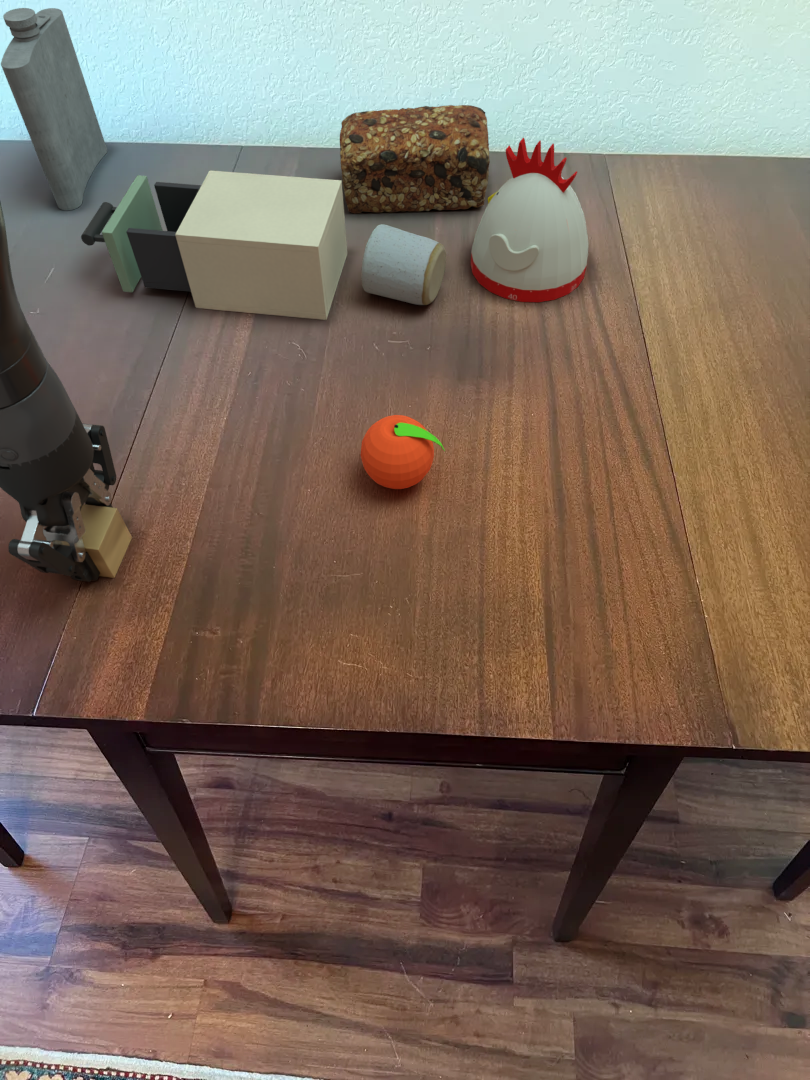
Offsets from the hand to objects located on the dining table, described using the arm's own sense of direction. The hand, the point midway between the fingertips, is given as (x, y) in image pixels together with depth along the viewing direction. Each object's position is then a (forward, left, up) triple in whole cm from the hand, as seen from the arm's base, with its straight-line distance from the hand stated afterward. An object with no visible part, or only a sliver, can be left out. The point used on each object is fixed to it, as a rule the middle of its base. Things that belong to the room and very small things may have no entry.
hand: (98, 552), depth 71 cm
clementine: (+26, +13, -1) cm, 29 cm away
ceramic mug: (+22, +42, -1) cm, 47 cm away
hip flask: (-26, +59, -1) cm, 65 cm away
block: (0, 0, 0) cm, 0 cm away
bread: (+20, +62, -1) cm, 65 cm away
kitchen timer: (+36, +48, -1) cm, 60 cm away
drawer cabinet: (+6, +41, 0) cm, 41 cm away
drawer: (-6, +41, +1) cm, 41 cm away
